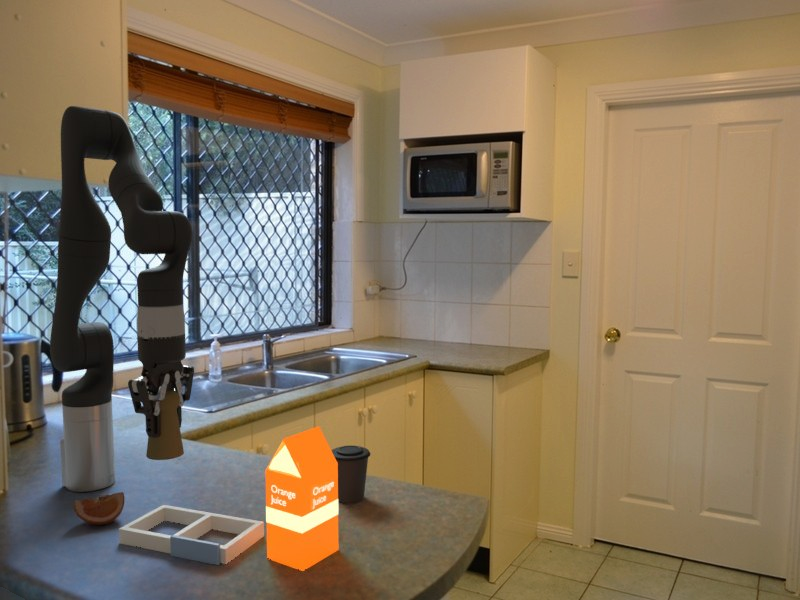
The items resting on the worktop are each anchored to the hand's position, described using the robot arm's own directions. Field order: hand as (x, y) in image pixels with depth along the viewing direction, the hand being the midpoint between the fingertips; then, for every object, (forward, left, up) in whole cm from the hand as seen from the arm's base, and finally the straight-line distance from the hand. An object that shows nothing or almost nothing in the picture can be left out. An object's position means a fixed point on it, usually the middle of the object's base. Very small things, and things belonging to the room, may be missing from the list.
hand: (164, 432), depth 117 cm
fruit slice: (-15, 0, -18) cm, 24 cm away
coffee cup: (+22, +26, -18) cm, 39 cm away
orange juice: (+25, +2, -18) cm, 31 cm away
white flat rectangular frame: (+5, 0, -18) cm, 19 cm away
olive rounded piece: (0, 0, -4) cm, 4 cm away
